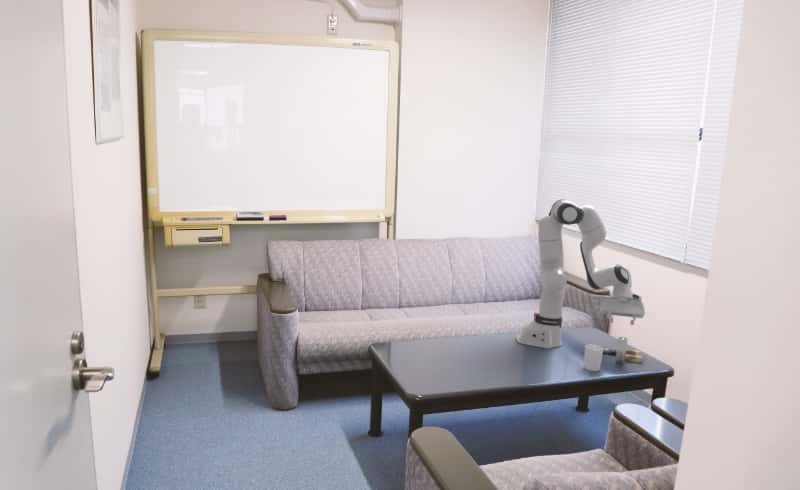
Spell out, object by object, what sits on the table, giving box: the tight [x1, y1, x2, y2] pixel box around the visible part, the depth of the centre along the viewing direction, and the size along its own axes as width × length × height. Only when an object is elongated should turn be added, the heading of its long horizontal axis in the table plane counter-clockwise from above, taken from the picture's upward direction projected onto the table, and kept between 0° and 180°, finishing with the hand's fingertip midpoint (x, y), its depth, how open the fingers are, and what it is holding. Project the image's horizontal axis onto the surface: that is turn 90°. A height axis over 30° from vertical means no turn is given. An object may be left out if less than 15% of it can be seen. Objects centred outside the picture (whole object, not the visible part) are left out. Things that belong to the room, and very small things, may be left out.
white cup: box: [583, 343, 604, 372], centre depth 270 cm, size 8×8×10 cm
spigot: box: [615, 336, 628, 366], centre depth 278 cm, size 4×4×12 cm
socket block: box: [625, 348, 643, 364], centre depth 287 cm, size 10×10×2 cm
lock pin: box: [603, 348, 617, 356], centre depth 291 cm, size 8×2×2 cm
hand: (621, 323), depth 287 cm, fingers open, 8 cm apart
